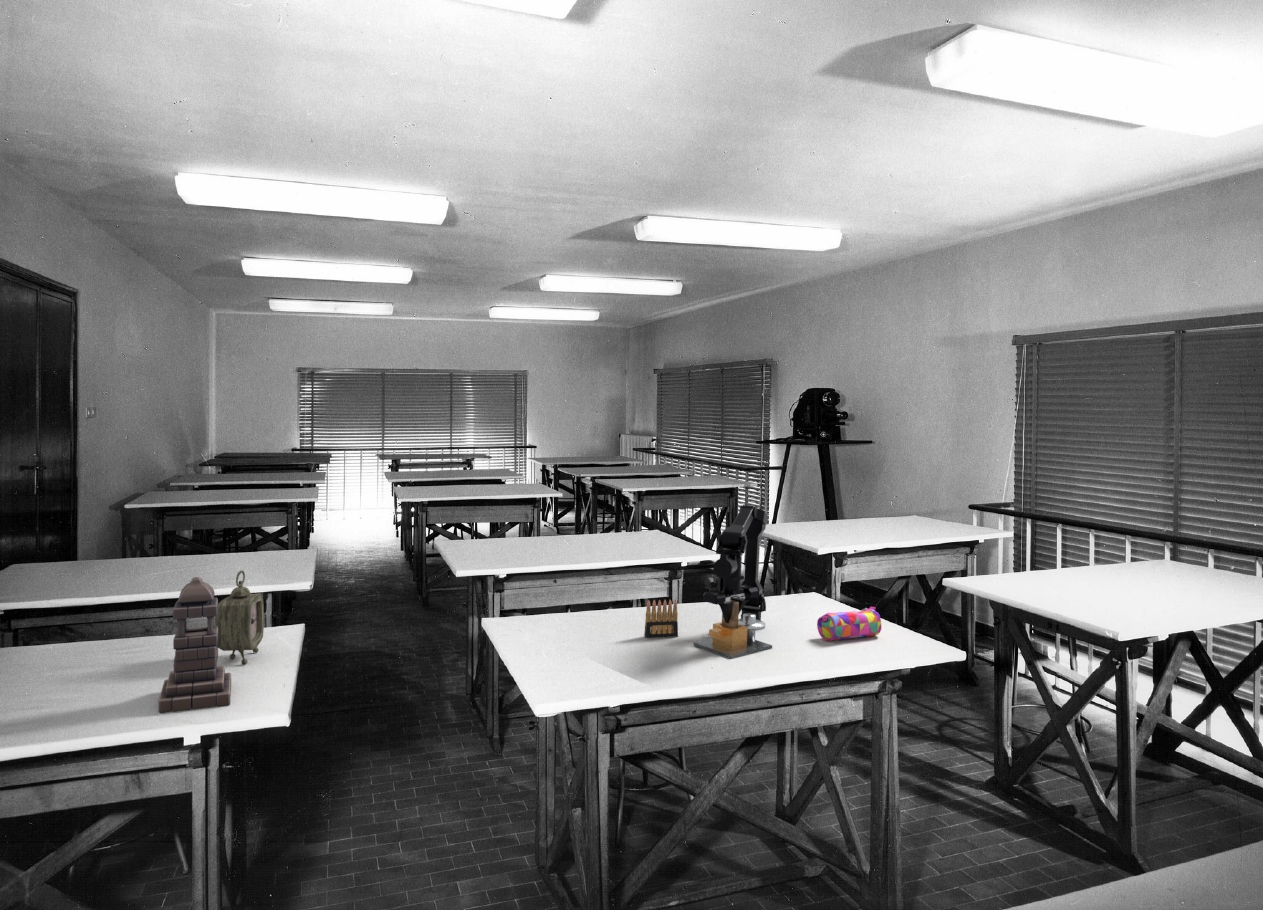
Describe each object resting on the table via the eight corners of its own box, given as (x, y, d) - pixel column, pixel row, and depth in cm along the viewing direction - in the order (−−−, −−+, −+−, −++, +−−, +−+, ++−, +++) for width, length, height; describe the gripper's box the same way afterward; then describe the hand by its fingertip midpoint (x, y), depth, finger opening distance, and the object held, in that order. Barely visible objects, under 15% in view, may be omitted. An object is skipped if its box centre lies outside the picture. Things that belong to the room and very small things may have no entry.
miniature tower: (164, 691, 205) (163, 572, 203) (231, 684, 211) (230, 568, 209) (158, 714, 190) (156, 586, 188) (230, 705, 196) (229, 581, 194)
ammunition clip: (676, 635, 265) (677, 598, 264) (678, 636, 263) (679, 599, 262) (644, 636, 263) (645, 599, 262) (645, 638, 261) (646, 600, 260)
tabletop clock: (249, 666, 224) (248, 576, 223) (213, 667, 223) (212, 576, 221) (264, 650, 239) (263, 565, 237) (230, 651, 237) (230, 565, 235)
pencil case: (862, 630, 277) (864, 603, 276) (884, 637, 269) (885, 610, 268) (813, 637, 266) (815, 610, 265) (834, 645, 258) (835, 617, 257)
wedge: (727, 631, 255) (728, 599, 254) (737, 634, 251) (738, 602, 251) (721, 632, 253) (722, 600, 252) (732, 635, 250) (733, 603, 249)
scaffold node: (740, 634, 267) (741, 607, 267) (778, 646, 255) (779, 618, 254) (693, 645, 254) (694, 616, 253) (731, 658, 242) (732, 628, 241)
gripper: (734, 564, 263) (732, 612, 264) (691, 570, 251) (689, 620, 252) (760, 570, 254) (758, 619, 255) (717, 577, 243) (715, 629, 244)
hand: (730, 622), depth 252 cm, fingers closed on wedge, 2 cm apart
